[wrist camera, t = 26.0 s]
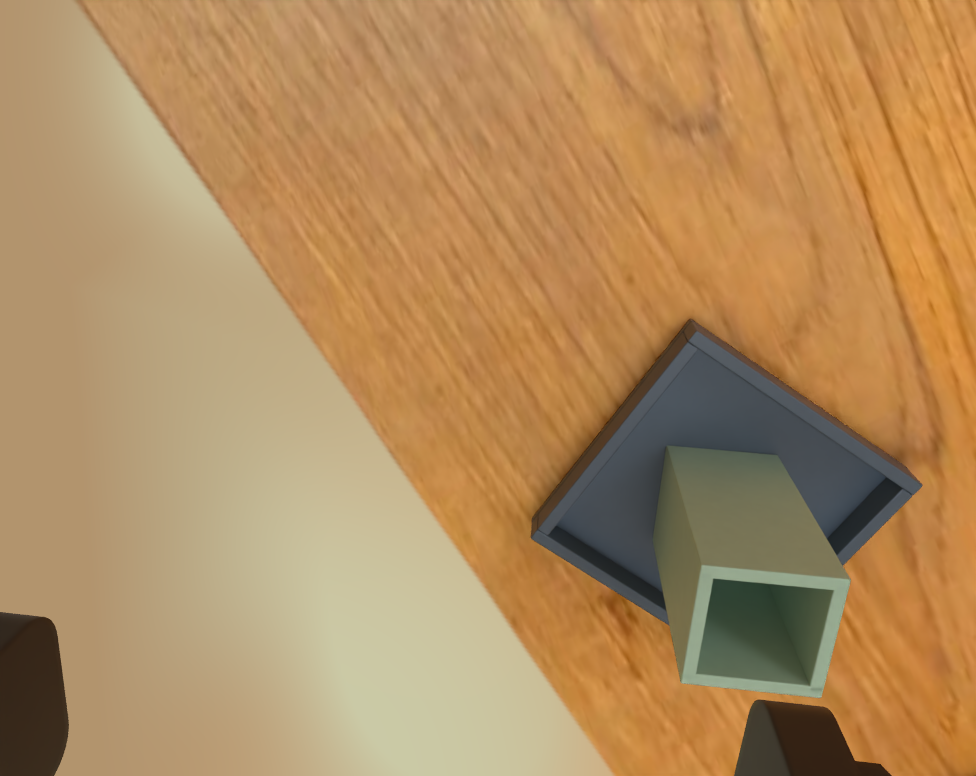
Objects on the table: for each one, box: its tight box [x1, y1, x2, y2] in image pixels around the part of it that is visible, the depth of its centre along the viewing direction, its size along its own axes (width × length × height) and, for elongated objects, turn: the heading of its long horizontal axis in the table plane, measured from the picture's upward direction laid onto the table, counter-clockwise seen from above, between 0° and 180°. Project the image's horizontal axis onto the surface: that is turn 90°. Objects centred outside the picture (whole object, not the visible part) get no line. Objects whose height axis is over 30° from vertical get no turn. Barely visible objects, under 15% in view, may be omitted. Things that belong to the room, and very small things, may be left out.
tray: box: [531, 319, 922, 625], centre depth 37 cm, size 12×12×2 cm
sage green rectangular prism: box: [653, 445, 851, 698], centre depth 33 cm, size 10×5×5 cm
